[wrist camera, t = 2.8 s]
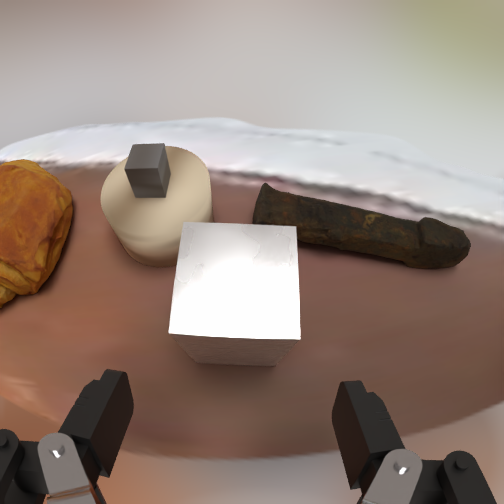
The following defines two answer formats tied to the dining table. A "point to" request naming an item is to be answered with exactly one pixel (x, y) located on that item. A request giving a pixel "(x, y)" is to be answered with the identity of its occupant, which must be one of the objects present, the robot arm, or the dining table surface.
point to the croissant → (30, 226)
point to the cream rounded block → (156, 201)
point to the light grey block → (236, 293)
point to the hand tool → (363, 229)
